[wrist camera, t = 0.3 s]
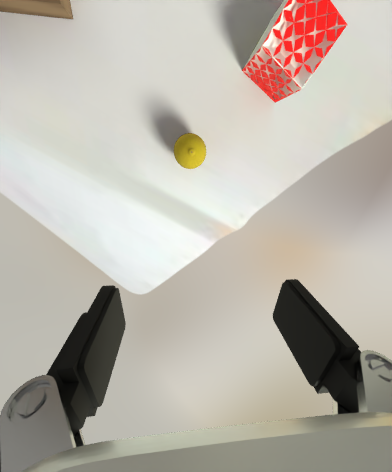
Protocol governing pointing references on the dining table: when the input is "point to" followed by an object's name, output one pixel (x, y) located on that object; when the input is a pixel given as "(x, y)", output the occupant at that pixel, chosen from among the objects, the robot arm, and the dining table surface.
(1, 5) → the slot block
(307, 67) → the red patterned box
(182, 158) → the lemon
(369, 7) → the dining table surface
